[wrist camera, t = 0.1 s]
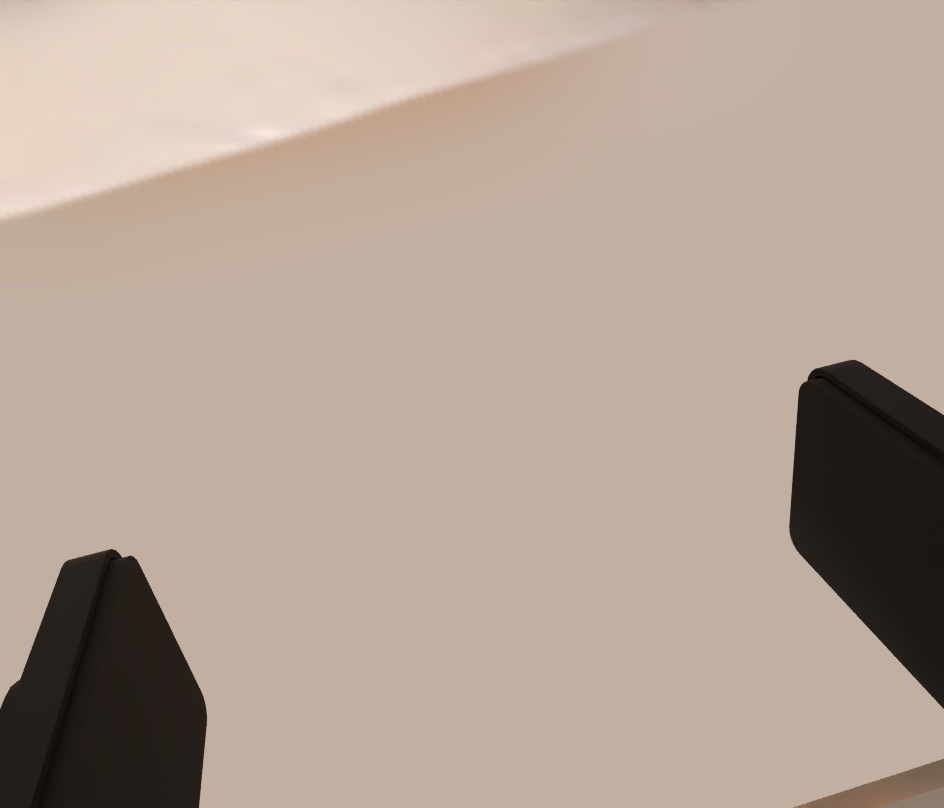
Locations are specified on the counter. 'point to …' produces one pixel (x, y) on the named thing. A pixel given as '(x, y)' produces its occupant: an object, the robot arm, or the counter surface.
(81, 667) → the robot arm
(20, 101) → the counter surface
